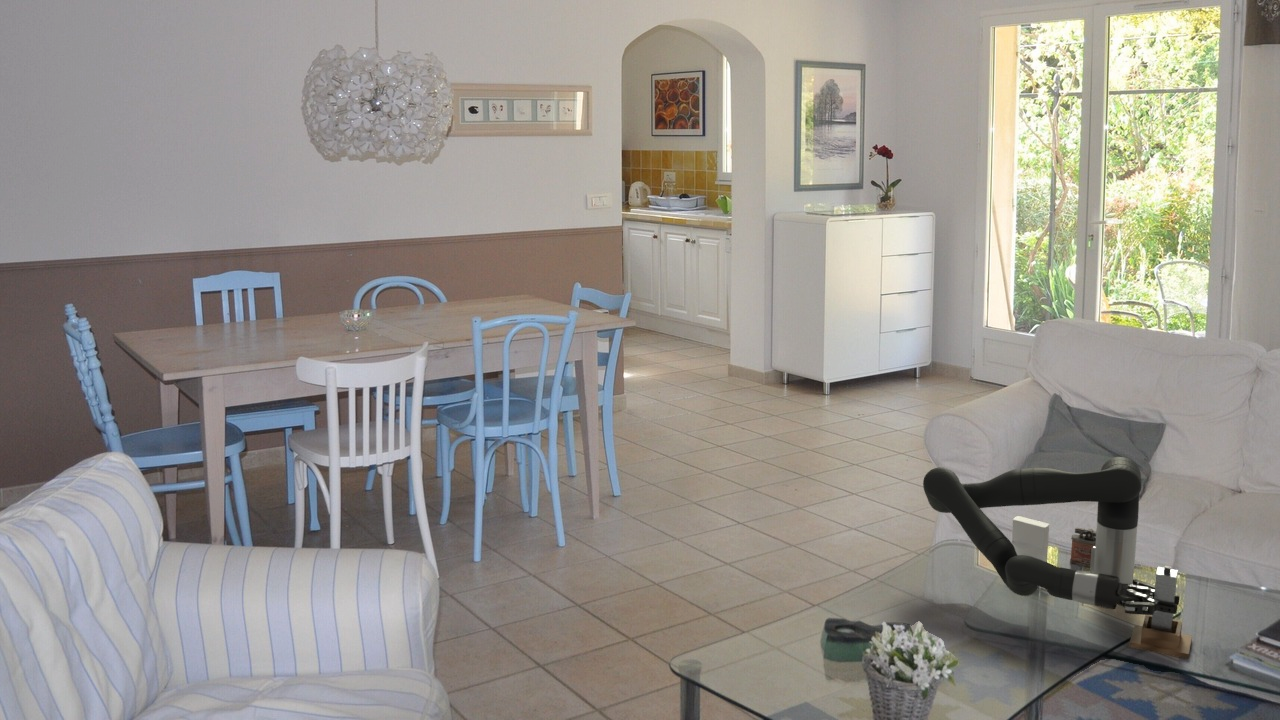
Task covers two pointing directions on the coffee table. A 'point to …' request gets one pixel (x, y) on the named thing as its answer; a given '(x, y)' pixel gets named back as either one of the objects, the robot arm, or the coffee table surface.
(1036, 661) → the coffee table surface
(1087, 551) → the lighter
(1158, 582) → the tall gray rectangular post
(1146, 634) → the brown open box stand
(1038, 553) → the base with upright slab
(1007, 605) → the coffee table surface
